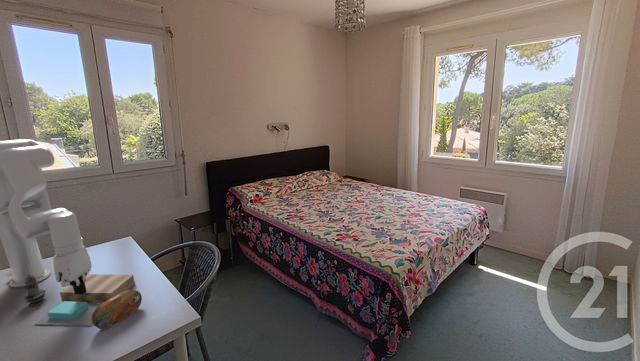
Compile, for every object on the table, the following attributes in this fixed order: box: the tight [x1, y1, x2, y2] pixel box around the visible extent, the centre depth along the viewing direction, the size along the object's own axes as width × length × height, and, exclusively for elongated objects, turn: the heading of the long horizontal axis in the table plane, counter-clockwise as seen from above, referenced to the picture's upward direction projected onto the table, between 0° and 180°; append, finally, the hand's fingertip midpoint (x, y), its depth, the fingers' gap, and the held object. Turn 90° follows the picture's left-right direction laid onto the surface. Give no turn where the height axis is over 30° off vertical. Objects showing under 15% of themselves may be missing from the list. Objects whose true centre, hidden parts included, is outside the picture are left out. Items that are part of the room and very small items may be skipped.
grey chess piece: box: [23, 275, 48, 309], centre depth 106 cm, size 6×6×12 cm
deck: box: [59, 273, 136, 303], centre depth 113 cm, size 20×12×4 cm, turn 86°
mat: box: [34, 302, 103, 327], centre depth 101 cm, size 20×11×1 cm, turn 86°
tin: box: [92, 289, 143, 330], centre depth 98 cm, size 15×3×8 cm, turn 154°
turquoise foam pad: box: [47, 301, 88, 320], centre depth 101 cm, size 9×6×2 cm, turn 85°
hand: (81, 293), depth 105 cm, fingers closed
